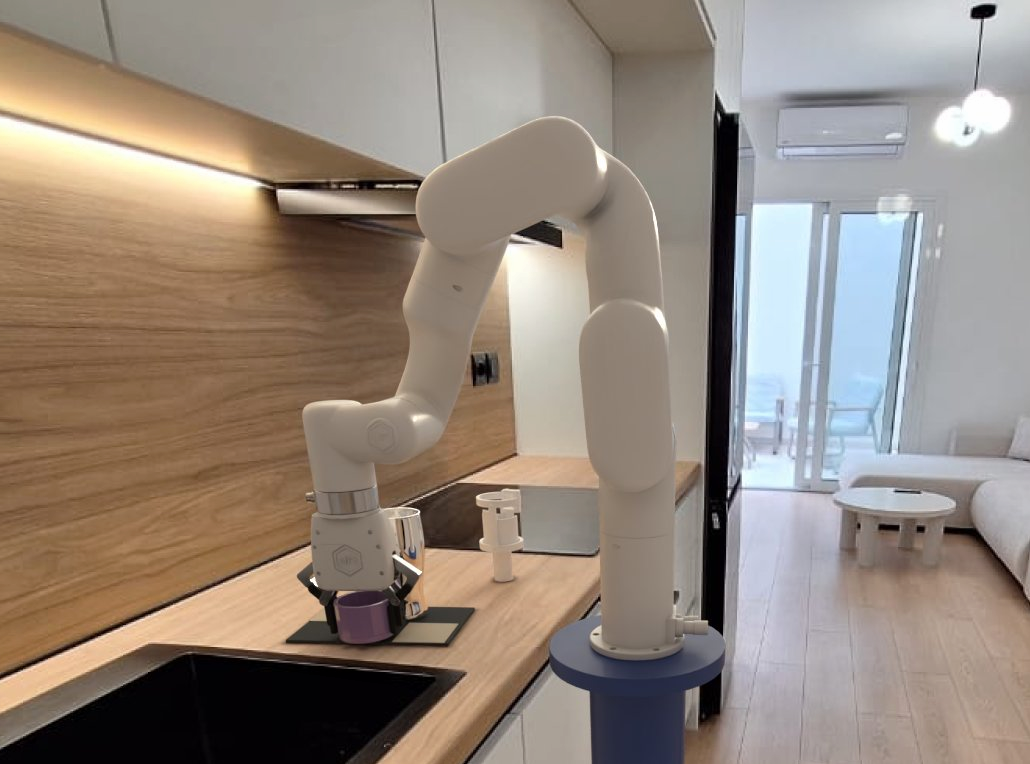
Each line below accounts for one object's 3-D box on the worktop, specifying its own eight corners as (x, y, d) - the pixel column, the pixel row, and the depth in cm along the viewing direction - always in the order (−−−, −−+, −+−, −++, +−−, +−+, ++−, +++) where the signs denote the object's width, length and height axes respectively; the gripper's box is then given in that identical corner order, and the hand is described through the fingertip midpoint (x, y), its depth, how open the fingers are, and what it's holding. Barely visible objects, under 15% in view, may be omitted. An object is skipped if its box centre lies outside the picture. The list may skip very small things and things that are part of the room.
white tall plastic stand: (517, 586, 130) (512, 494, 125) (476, 584, 131) (468, 492, 126) (530, 573, 137) (525, 485, 131) (490, 571, 138) (484, 484, 132)
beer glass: (426, 603, 121) (416, 505, 116) (436, 618, 116) (426, 515, 110) (378, 610, 119) (366, 509, 113) (386, 625, 113) (373, 520, 107)
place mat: (474, 609, 120) (474, 606, 120) (448, 646, 107) (447, 642, 107) (330, 607, 121) (329, 604, 121) (285, 642, 108) (285, 639, 108)
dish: (404, 623, 112) (399, 589, 111) (385, 643, 105) (380, 607, 104) (352, 623, 113) (347, 589, 111) (330, 643, 106) (323, 607, 104)
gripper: (267, 508, 100) (292, 640, 106) (405, 507, 99) (422, 641, 105) (295, 495, 107) (317, 620, 113) (424, 494, 106) (439, 620, 112)
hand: (367, 629), depth 109 cm, fingers closed on dish, 7 cm apart
